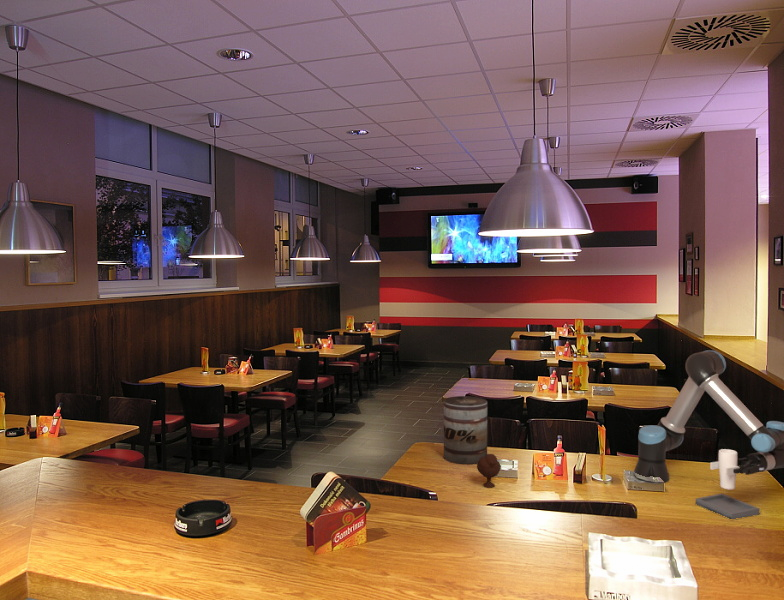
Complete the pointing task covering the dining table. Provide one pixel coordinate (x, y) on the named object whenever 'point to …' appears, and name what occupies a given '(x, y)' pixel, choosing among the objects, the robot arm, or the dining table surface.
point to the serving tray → (727, 506)
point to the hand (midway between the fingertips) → (718, 468)
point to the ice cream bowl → (488, 468)
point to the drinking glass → (725, 461)
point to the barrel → (465, 429)
